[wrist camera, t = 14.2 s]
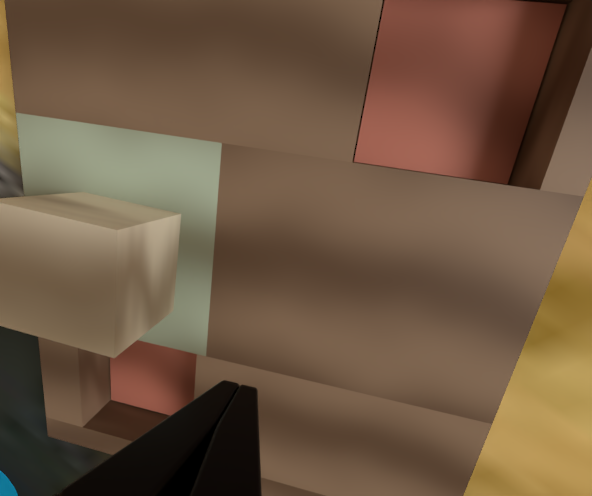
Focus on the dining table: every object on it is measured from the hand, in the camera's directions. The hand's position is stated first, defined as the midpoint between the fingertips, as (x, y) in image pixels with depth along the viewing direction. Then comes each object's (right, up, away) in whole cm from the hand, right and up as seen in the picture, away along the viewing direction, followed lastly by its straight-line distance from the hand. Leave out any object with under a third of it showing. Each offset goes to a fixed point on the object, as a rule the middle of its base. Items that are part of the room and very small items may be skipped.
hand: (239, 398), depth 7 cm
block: (-7, +3, +8) cm, 11 cm away
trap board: (0, +3, +9) cm, 10 cm away
